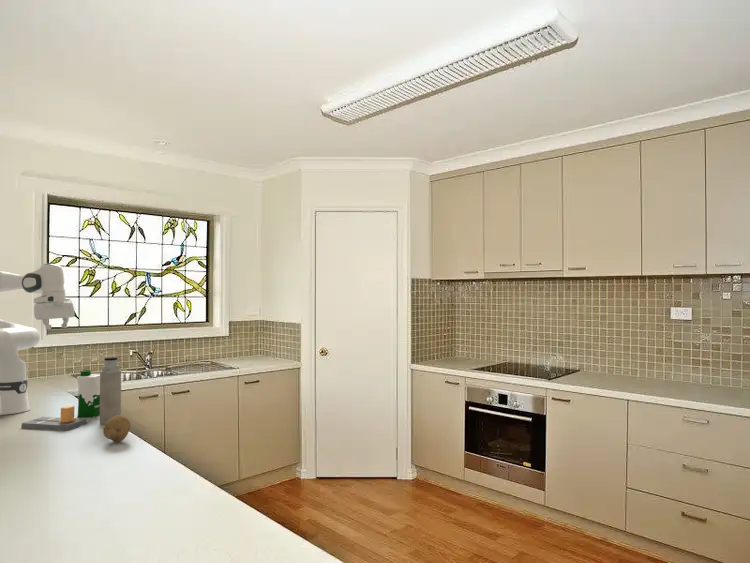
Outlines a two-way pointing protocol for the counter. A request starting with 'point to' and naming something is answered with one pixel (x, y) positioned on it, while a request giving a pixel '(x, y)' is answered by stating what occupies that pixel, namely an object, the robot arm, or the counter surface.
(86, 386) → the milk carton
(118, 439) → the natural sponge
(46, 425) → the slider board
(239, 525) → the counter surface
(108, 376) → the thermos bottle
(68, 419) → the fader knob
